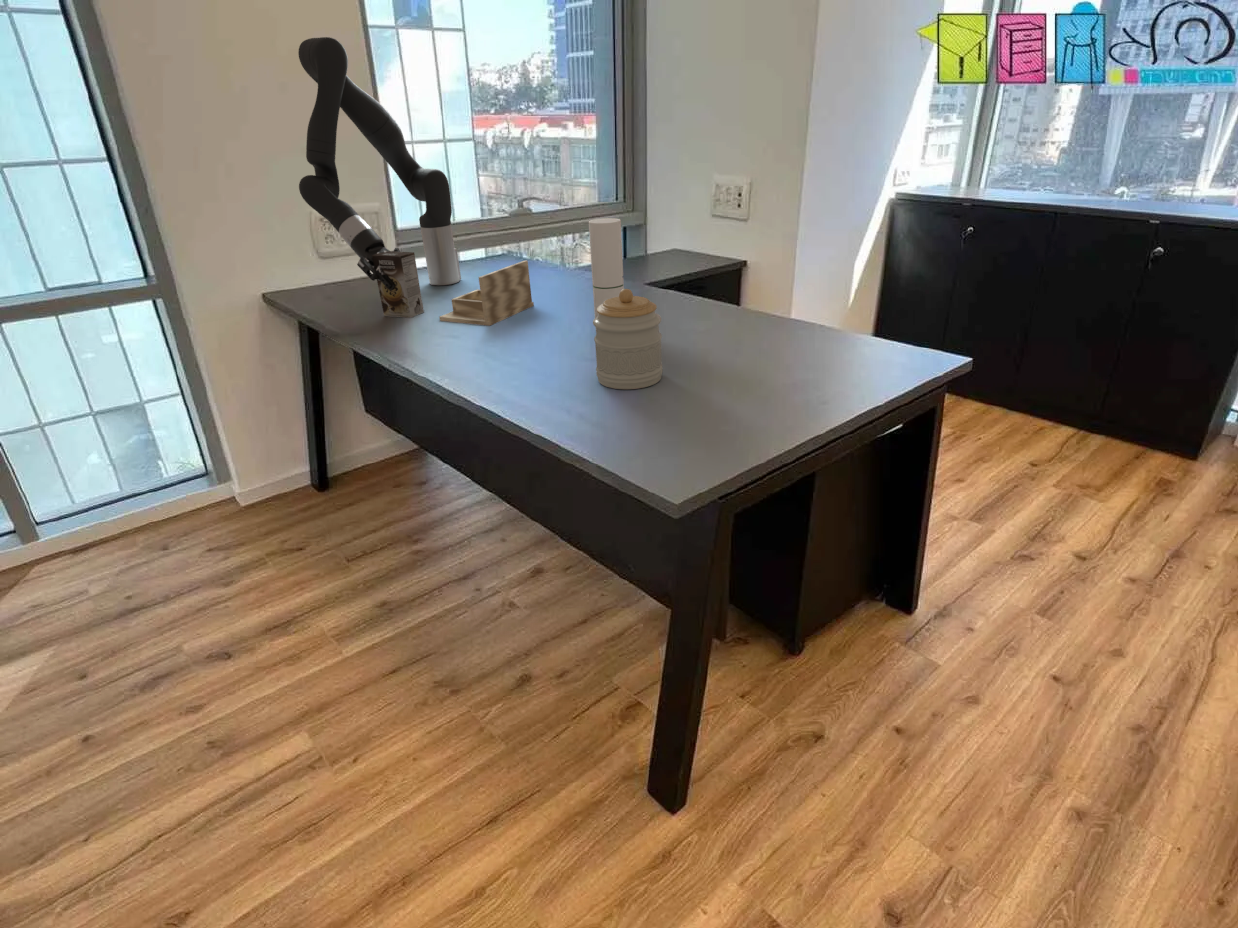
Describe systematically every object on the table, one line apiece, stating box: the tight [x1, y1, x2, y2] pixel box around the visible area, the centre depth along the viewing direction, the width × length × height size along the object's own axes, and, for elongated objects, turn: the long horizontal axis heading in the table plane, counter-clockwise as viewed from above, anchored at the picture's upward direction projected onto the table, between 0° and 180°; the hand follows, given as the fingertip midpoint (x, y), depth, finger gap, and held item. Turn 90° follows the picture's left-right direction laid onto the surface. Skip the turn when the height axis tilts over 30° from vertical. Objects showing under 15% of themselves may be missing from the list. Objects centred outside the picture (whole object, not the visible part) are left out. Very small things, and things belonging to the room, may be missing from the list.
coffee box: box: [372, 250, 425, 319], centre depth 191 cm, size 9×6×16 cm
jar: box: [592, 288, 664, 390], centre depth 138 cm, size 13×13×18 cm
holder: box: [438, 260, 535, 327], centre depth 189 cm, size 20×16×12 cm
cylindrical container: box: [588, 217, 625, 319], centre depth 166 cm, size 7×7×25 cm
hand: (403, 285), depth 190 cm, fingers closed on coffee box, 7 cm apart
